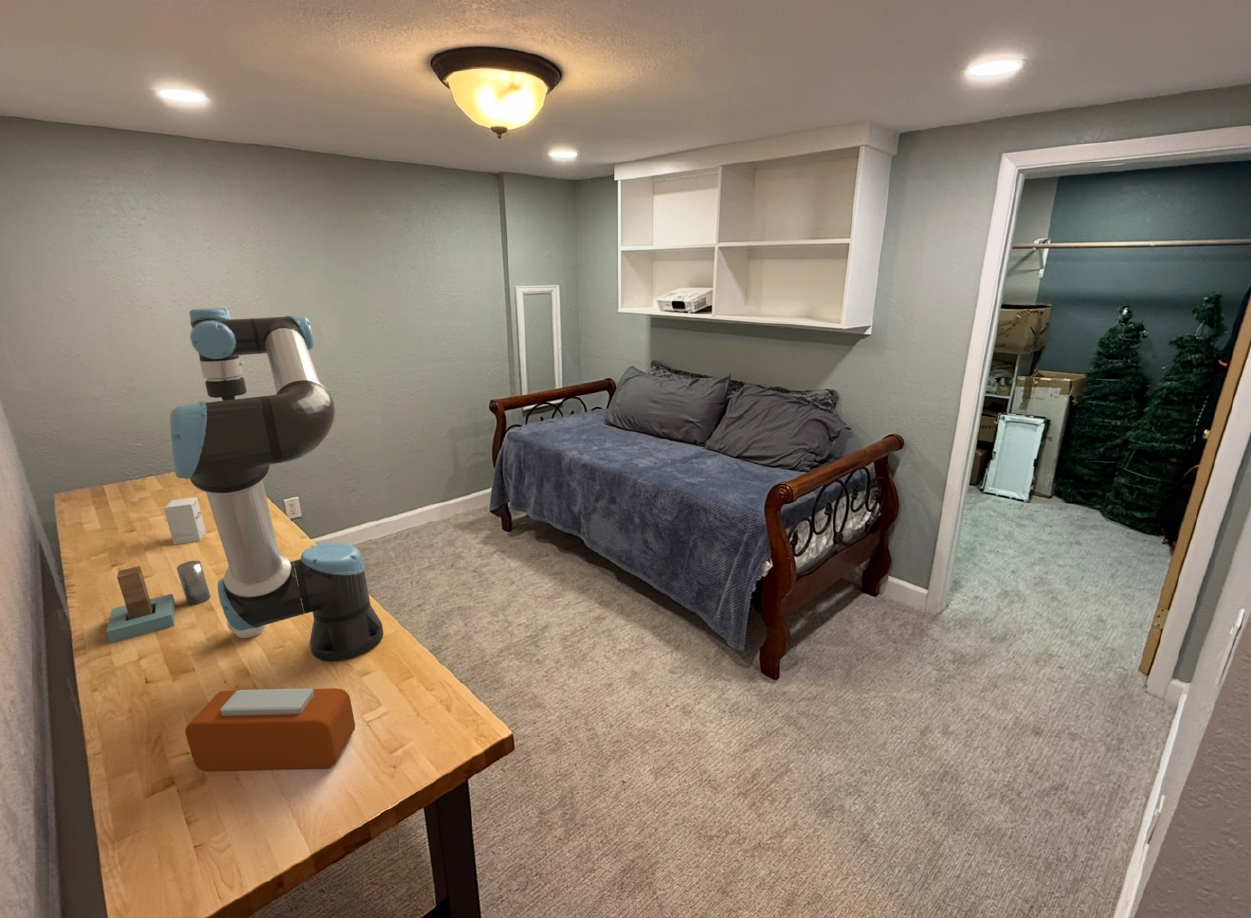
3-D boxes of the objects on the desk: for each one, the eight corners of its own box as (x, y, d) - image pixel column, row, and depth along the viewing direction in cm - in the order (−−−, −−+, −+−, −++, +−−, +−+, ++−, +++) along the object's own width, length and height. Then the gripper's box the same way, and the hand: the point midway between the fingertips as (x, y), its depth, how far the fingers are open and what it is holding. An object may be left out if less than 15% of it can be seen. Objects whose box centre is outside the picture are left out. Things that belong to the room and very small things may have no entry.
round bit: (213, 598, 154) (203, 564, 151) (190, 606, 150) (180, 572, 147) (206, 591, 157) (197, 558, 154) (184, 599, 153) (174, 566, 150)
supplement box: (200, 541, 187) (191, 504, 184) (172, 545, 185) (162, 507, 181) (206, 532, 194) (197, 496, 190) (180, 535, 191) (170, 499, 188)
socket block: (174, 625, 142) (171, 614, 142) (109, 643, 136) (106, 631, 135) (175, 603, 152) (172, 593, 151) (115, 619, 145) (111, 608, 144)
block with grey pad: (357, 733, 109) (347, 681, 105) (337, 769, 101) (325, 715, 97) (226, 735, 108) (212, 684, 105) (195, 772, 100) (179, 718, 97)
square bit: (154, 623, 143) (138, 572, 139) (133, 629, 141) (117, 577, 137) (155, 616, 146) (140, 565, 142) (134, 621, 144) (118, 570, 140)
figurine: (228, 643, 135) (216, 597, 132) (239, 625, 142) (228, 580, 139) (262, 638, 137) (252, 592, 133) (272, 620, 144) (262, 576, 140)
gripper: (247, 384, 127) (267, 477, 133) (240, 369, 146) (257, 451, 153) (205, 388, 123) (227, 484, 129) (203, 372, 142) (223, 456, 149)
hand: (244, 466), depth 141 cm, fingers open, 13 cm apart
